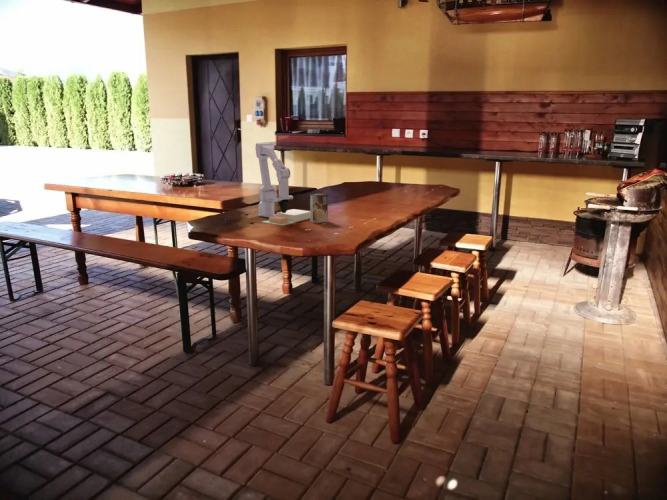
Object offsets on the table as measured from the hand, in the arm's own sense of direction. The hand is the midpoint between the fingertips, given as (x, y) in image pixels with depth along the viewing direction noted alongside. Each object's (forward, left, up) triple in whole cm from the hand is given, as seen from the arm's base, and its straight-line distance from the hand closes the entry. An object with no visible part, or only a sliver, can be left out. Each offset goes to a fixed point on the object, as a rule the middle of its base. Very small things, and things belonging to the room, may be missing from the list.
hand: (283, 212), depth 306 cm
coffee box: (+17, +11, -5) cm, 21 cm away
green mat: (0, -5, -5) cm, 7 cm away
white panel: (0, +9, -5) cm, 11 cm away
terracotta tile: (0, -5, -3) cm, 6 cm away
